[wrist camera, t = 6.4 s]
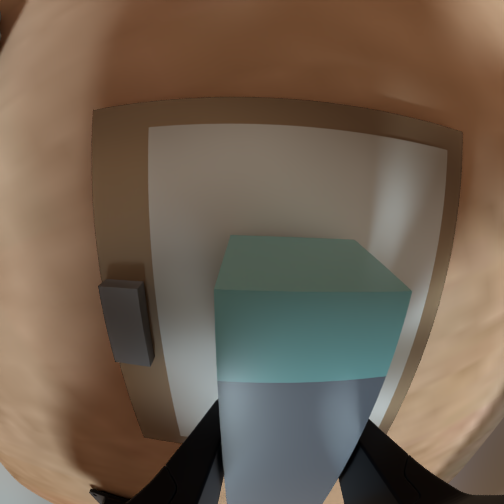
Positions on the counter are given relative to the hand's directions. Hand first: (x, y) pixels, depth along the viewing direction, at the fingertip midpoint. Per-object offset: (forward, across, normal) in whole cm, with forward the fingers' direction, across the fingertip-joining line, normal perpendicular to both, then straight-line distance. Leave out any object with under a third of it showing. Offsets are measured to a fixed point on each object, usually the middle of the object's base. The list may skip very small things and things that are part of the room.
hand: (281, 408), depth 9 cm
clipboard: (+2, 0, -2) cm, 3 cm away
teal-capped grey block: (+1, 0, 0) cm, 1 cm away
